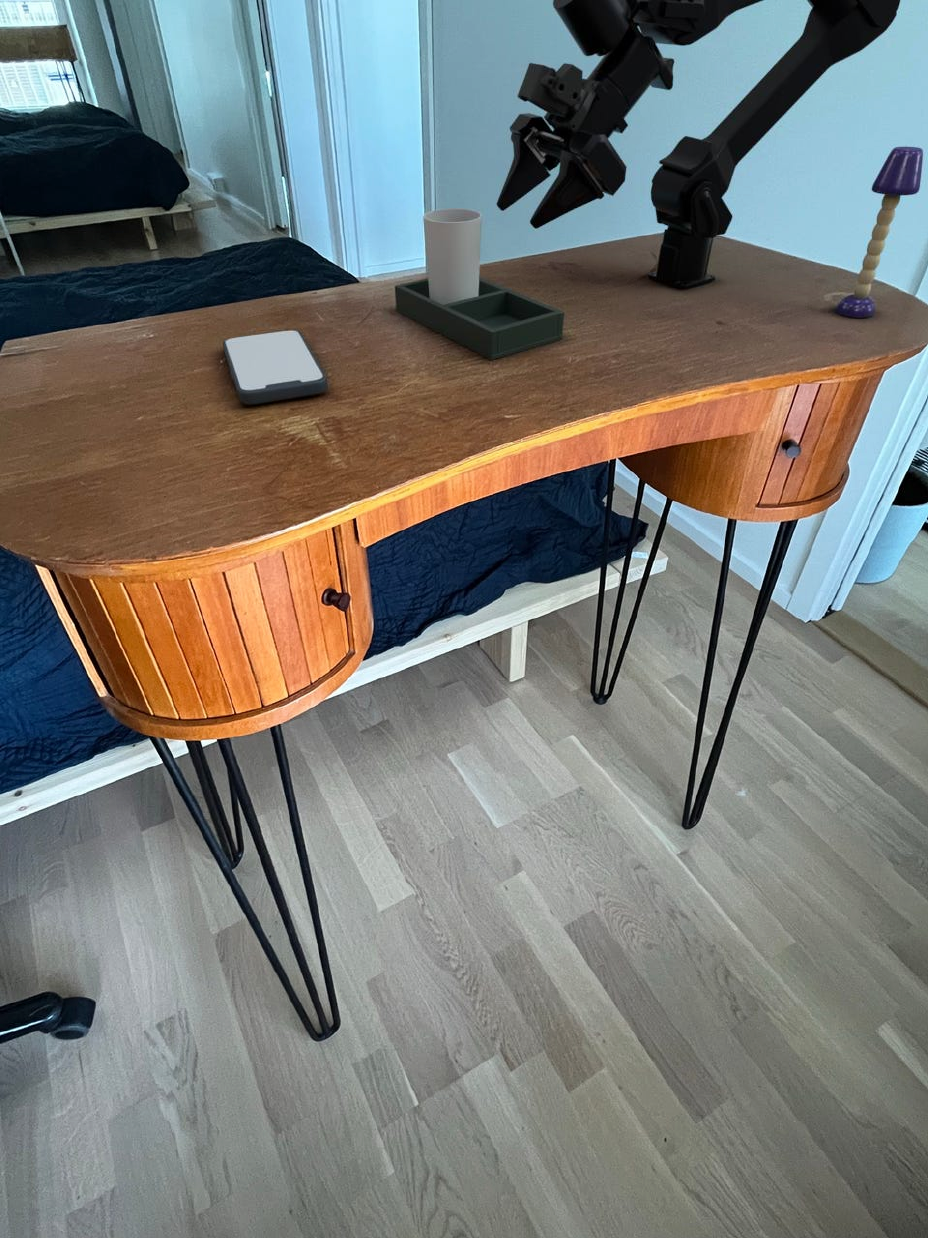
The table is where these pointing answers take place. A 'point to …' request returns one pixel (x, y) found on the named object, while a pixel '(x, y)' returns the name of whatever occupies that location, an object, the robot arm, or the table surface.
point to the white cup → (453, 253)
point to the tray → (484, 318)
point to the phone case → (273, 367)
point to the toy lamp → (884, 222)
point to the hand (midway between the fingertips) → (515, 216)
